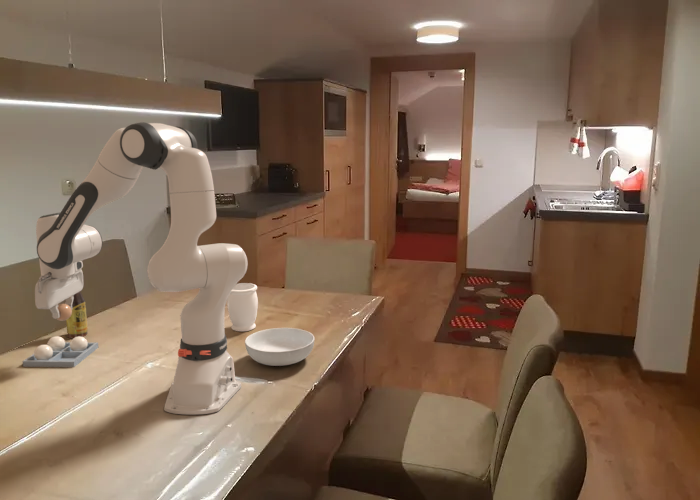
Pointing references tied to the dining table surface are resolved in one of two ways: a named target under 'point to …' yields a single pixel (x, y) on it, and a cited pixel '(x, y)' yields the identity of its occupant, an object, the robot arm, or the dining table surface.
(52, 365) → the egg tray
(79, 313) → the sauce bottle
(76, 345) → the white egg
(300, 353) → the serving bowl
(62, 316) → the brown egg
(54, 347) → the white egg
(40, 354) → the white egg
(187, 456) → the dining table surface
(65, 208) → the robot arm
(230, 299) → the jar
